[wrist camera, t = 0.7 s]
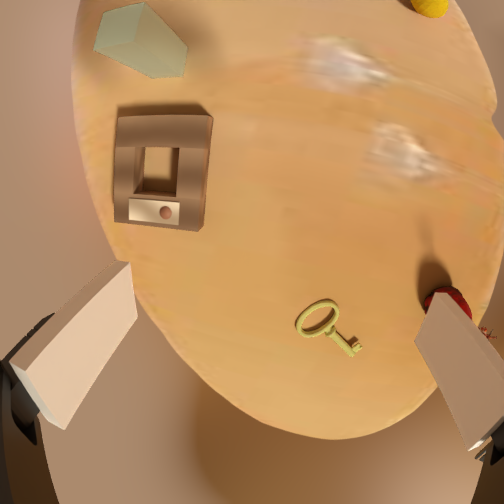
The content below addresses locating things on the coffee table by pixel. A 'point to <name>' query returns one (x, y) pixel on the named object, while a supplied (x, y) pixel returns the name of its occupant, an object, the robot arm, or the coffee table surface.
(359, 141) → the coffee table surface
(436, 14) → the fruit
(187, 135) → the socket block
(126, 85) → the coffee table surface
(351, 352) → the key
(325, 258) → the coffee table surface
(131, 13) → the sage peg
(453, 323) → the robot arm
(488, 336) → the red clay folk toy
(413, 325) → the coffee table surface
